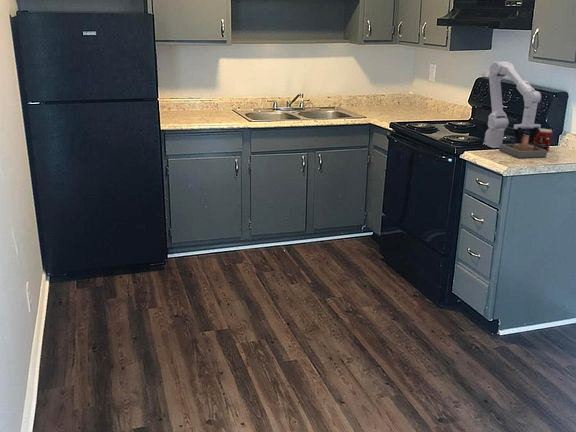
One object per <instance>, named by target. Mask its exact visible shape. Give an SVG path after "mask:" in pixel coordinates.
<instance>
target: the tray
mask: <svg viewBox="0 0 576 432" xmlns="http://www.w3.org/2000/svg"><path fill="white" fill-rule="evenodd" d="M499 152H502V153H504V154H506V155H509V156H511V157H514V158H515V159H521V160H522V159H539V158H540V159H542V158H544V159H545V158H547V155H548V152H547V150H544V149H541V148H538V147H535V146H534V145H532V144H529V143H528V145H527V146H521V143H502V144H500V148H499Z"/></svg>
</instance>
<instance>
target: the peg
mask: <svg viewBox="0 0 576 432" xmlns="http://www.w3.org/2000/svg"><path fill="white" fill-rule="evenodd" d="M529 136H530V135H528V134H522V137H521V142H520V144H521V146H527V145H528V144H529Z"/></svg>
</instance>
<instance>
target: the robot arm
mask: <svg viewBox="0 0 576 432" xmlns="http://www.w3.org/2000/svg"><path fill="white" fill-rule="evenodd" d="M506 76H508V78H509V79H510V80H511V81H512V82H513V83H514V84H515V85H516V90H517V91H518V92H519V93H520V94H521V95H522V97H523V102H524V104H523V106H524V108H523V114H522V120H521V123H519V124H518V123H517V124H515V123H514V125H513V132H514V136H515V144H521V142H522V138H523V135H524V132H525V131H524V130H525V129H528V130H529V135H528V136H529V140H528V143H531V144H534V141H535V137H536V135H537V134H538V133H539V131H540V129H541V127H542V126H541V125H542V124H539V123H535V121H536V120H535V119H536V115H537V108H538V103H540V102H541V100H542V94H541V92H540V91H538V90H535V88H534V87H532V86H531V85H530V81H528V80H523V79H522V77H521V76H520V75H519V74H518V72H517V70H516V69H515V66H514V64H513V63H512V62H511V61H509V60H507V61H494V62H492V63H491V64H490V66H489V78H488V82H489V93H490V103H491V104H490V106H491V112H490V114H489V115H488V120H487V127H488V128H487V129H486V131H485V133H484V142H482V143H483V144H482V145H484V144H485V145H484V146H486V145H487V147H489V148H492V149H498V148H499V149H500V144H503V140H504V133H505V131H506V128H508V127H509V118H508V116H507V113H506V112H505V111H504V107H503V96H502V94H503V93H502V83H501V81H502V79H504V78H505V77H506ZM523 129H524V130H523Z"/></svg>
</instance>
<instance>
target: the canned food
mask: <svg viewBox="0 0 576 432" xmlns="http://www.w3.org/2000/svg"><path fill="white" fill-rule="evenodd" d="M552 136H553V130H552V129H549V128H548V129H547V128H540V131H539V133H538V134H537V135H536V137H535V139H534V141H533V146H535V147H538V148H541V149H544V150H547V153H548V152H549V151H550V146H551V140H552Z"/></svg>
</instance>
